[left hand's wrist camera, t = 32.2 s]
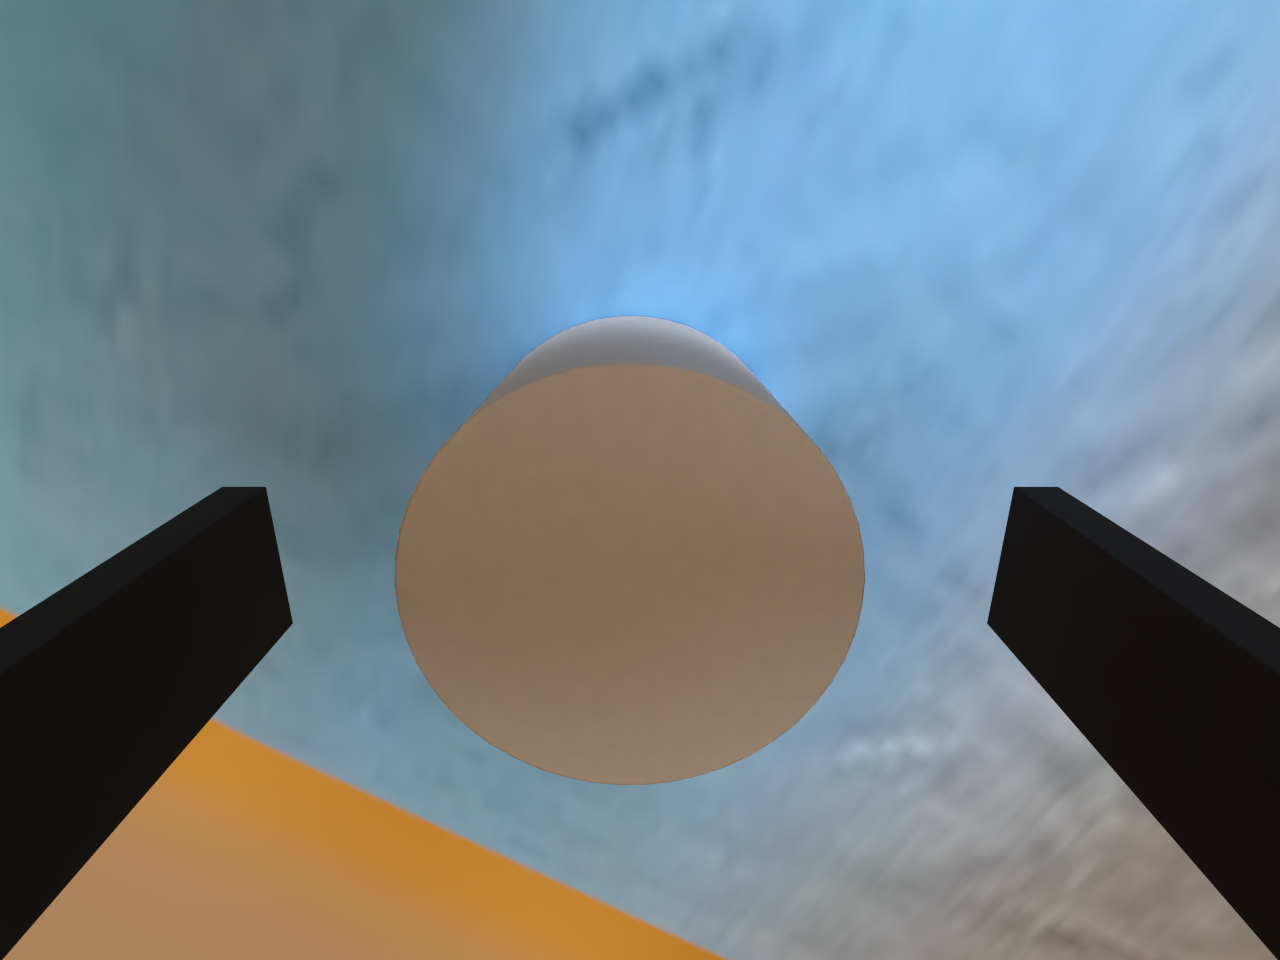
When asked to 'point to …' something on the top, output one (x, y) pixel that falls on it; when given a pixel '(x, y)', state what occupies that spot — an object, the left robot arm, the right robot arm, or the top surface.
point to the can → (629, 559)
